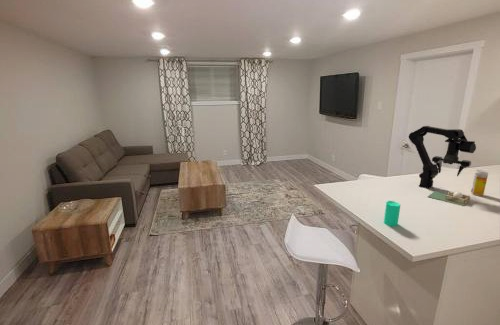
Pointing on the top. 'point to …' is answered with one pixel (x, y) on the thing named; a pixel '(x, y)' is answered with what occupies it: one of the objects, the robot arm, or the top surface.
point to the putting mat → (443, 197)
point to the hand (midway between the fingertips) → (448, 174)
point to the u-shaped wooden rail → (455, 199)
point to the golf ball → (458, 195)
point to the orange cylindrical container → (479, 182)
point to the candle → (392, 213)
